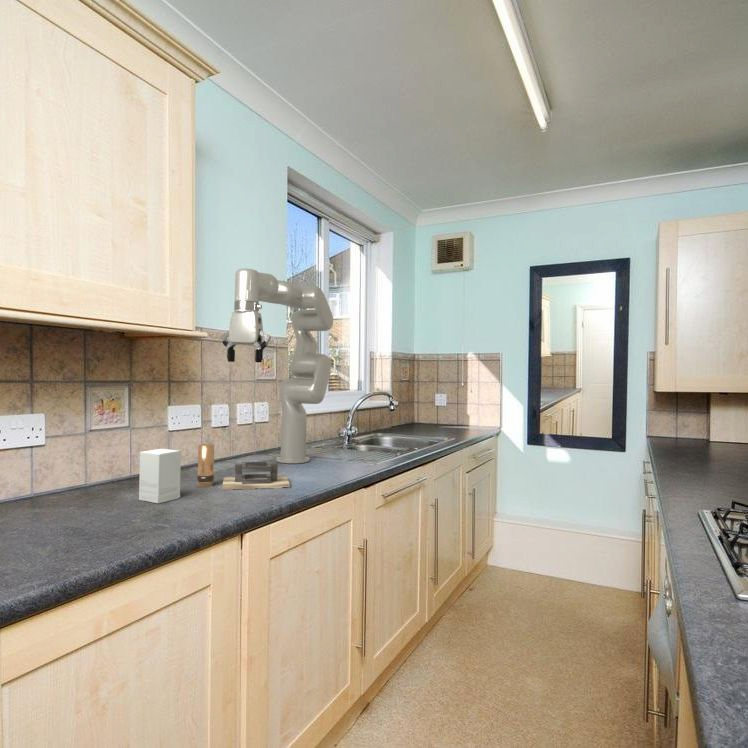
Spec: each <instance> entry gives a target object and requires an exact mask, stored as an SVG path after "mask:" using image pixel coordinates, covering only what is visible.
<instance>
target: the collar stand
mask: <svg viewBox="0 0 748 748" xmlns="http://www.w3.org/2000/svg"><path fill="white" fill-rule="evenodd" d="M278 465H279V464H278V462H277V463H276V462H275V463H274V462H273V463H272V462H271V461H242V462H241V463H235V464H234V468H235V469H234V476H225V477H223V481H222V491H234V490H233V489H245V490H256V489H255V488H274V489H283V488H282V487H290V488H291V484H290V481H289V479H288V477H287V475H278V473H279V472H278V469H279V466H278ZM264 472H265V473H264ZM266 472H267V473H266ZM268 472H269V473H268ZM244 473H245V474H244ZM247 473H248V474H247Z"/></svg>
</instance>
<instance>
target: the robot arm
mask: <svg viewBox="0 0 748 748" xmlns="http://www.w3.org/2000/svg"><path fill="white" fill-rule="evenodd" d="M234 276H235V278H234V305H233V309H234V310H233V312H231V317H230V320H229V321H230V322H229V327H228V328H229V329H228V330H227V331H226V332H225V333H223V334H220V339H221V342H222V344H223V346H225V349H226V350H227V351H226V352H227V354H226V358H227V362H228V363H229V362H230V363H234V362H235V361H236V359H235V358H236V350H235V349H234V348H235V347H236V346H237V345H238V344H239V345H254V346H255V348H256V349H255V353H254V355H255V356H254V362H255V363H259V364H260V363H263V362H262V361H263V356H264V355H263V354H264V350H265V349H266V347H267V346H268V345H269V342H270V340H271V338H272V336H271V334H270V335H269V334H268V333H267V332H265V331H264V328H263V327H264V325H263V317H262V314H261V312H260V310H262V309H263V305H262V304H260V302H262V303H263V302H264V303H268V304H275V305H281V306H284V307H285V306H286V307H289V308H292V309H295V310H296V309H298V310H297V311H294V312H293V313H292V314H291V319H290V320H291V325H292V326H291V327H292V329H293V331H294V335H295V338H296V339H295V340H296V345H295V347H294V348H295V349H294V352H293V355H292V359H291V362H290V367H289V370H290V373H291V374H292V376H294V377H289V378H286V379H284V380H283V381H282V382H281V383H280V386H279V397H280V403H281V421H280V422H281V425H280V426H281V427H280V433H281V434H280V456H277V457H275V458H276V459H275V460H276V462H277V463H282V464H303V463H304V464H305V463H309V462H310V459H311V458H310V457H309V456H306V455H307V453H306V452H307V422H308V421H307V420H308V419H307V418H308V417H307V416H308V415H307V412H306V408H305V407H304V405H303V404H306V405H317V404H320V403H322V402H323V400H324V399H325V397H326V394H327V393H326V392H327V388H328V385H329V381H330V376H331V371H332V363H331V359H330V357H329V356H328V355H326V354H323V353H317V350H318V348H319V345H318V342H317V340H316V339H315V337H314V335H313V334H312V332H327V331H329V330H331V329H332V328H333V325H334V317H333V316H334V315H333V313H332V310H331V307H330V304H329V302H328V300H327V297H326V295H325V293H324V292H323V290H322V289H321V288H320V286H318V285H303V286H301V285H297V284H294V283H291V282H289V281H287V280H286V281H285V280H278V279H277V277H276V276H274V275H273V274H270V273H265V272H259V271H258V270H255V269H253V268H239V269H237V270H236V271H235V275H234ZM299 309H300V310H299Z"/></svg>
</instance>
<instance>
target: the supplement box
mask: <svg viewBox="0 0 748 748" xmlns="http://www.w3.org/2000/svg"><path fill="white" fill-rule="evenodd" d="M181 459H182V451H181V450H176V449H169V448H168V449H167V448H155V449H151V450H150V449H149V450H144V451H140V452H139V473H138V474H139V478H138V479H139V482H138V483H139V484H138V485H139V486H138V500H139V501H142V502H143V501H144V502H148V503H154V504H162V503H166V502H170V501H174V500H176V499H177V500H178V499H180V498H181V463H182V460H181Z"/></svg>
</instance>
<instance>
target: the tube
mask: <svg viewBox="0 0 748 748" xmlns="http://www.w3.org/2000/svg"><path fill="white" fill-rule="evenodd" d="M197 449H198V453H197V458H198V460H197V475H196V481H197V485H196V486H197V487H198V488H203V487H205V488H210V487H211V486H212V487H213V486H214V480H215V474H214V473H215V472H214V471H215V470H214V469H215V465H214V463H215V443H214V444H213V443H202V444H201V443H200V444H198V448H197Z"/></svg>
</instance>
